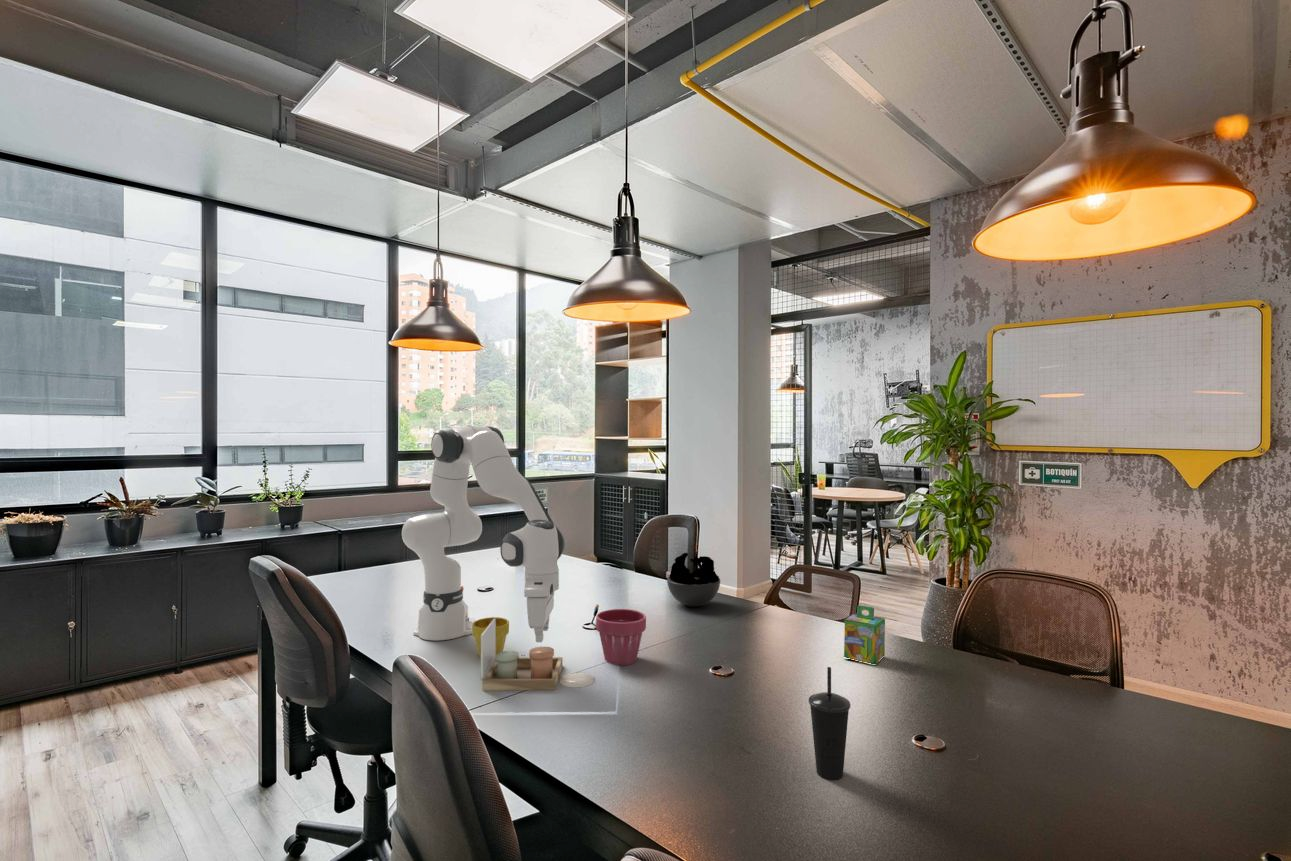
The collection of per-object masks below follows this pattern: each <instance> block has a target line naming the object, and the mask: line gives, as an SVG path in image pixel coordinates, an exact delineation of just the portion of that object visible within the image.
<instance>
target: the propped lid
mask: <svg viewBox="0 0 1291 861" xmlns="http://www.w3.org/2000/svg"><path fill="white" fill-rule="evenodd" d="M495 661H496V619H493V620H492V622H491V623H490V624H489V625H488V627H487V628H486V629H485V631H484V632H483V633H482V635H481V657H480V680H481V681H482V682H483V679H485V677H486V676H487V674H488V672H489V671H490V669H491V668H492V666H493V664H494V663H495Z"/></svg>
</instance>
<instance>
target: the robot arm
mask: <svg viewBox="0 0 1291 861" xmlns="http://www.w3.org/2000/svg"><path fill="white" fill-rule="evenodd" d="M430 446H431V453H432V455H433V456H434V461H433V467H432V473H431V482H430V488H429V493H430V496H431V497H430V498H432V500H433V501H434V502H436V503H437V504H439V505H441V506H443V507H444V511H443V512H439V513H438V512H437V513H429V514H428V513H427V514H426V513H425V514H421V515H416V516H413V517H410V518H408V519H406V521H405V522H404V523H403V525H402V529H401V538H402V541H403V543H404V545H405V546H406V547H407V548H408V549H410V550H411V551H413V552H414V553H415V554H416V555H417V556H418V557H419V559H420V561H421V564H422V567H423V571H424V590H423V594H422V595H423V596H422V597H423V598H422V599H423V601H422V602H423V605H422V606H421V607H419V610H418V622H417V628H416V629H415V630H413V633H412V634H413V635H414V636H417V637H419V638H420V639H423V640H424V641H445V640H446V641H448V640H453V639H457V638H461V637H463V636H470V635H473V634H472V624H473V623H474V622H475V621H476V619H475V618H474V617H471V616H470V617H469V606H468V605H467V604H466V602H465V601H464V588H465V587H464V586H463V585H462V566H461V565H460V562H458V561H457V560H456V559H455V558H451V557H449V556H446V553H445V548H447V547H456V546H463V545H466V544H470V543H473V542H476V541H477V540H478V539H479V538H480V536H481V535H482V532H483V523H482V519H481V517H480V516H479V515H478V514H477V513H476V512H474V511H473V509H471V507H470V505H469V503H468V494H467V493H468V484H469V483H468V482H469V476H470V468H472V470H473V473H474V476H475V478H476V481H477V484H478V485H479V487H480V489H481V490H482V491H483V492H484V493H486V494H487V495H490V496H492V497H495V498H500V499H502V500H506V501H509V502H513V503H514V504H516V505H517V506H519V507H520V508H521V509H522V510H523V512H524V514H525V516H526V517H527V520H528V522H526V524H525V526H523V527H522V528H520V529H517V530H514V531H512V532H507V533H506V534H505V536H503V538H502V540H501V542H500V557H501V559H502V560H503V562H504V563H505V564H506V565H507V566H509V567H514V568H519V567H524V590H523V591H524V592H523V593H524V594H523V596H524V598H526V609H527V611H526V612H527V621H528V626H529V628H530V629H534V630H533V632H534V635H535V642H536V643H542V642H543V641H544V632H547V631H548V630H549V627H550V626H549V624H550V615H551V613H552V611H553V610H554V607H555V592H556V591H557V590H559V589H560V581H559V580H560V575H559V574H560V573H559V570H560V569H559V565H558V560H559V559H560V558H561V556H562V554H563V552H564V550H565V546H566V545H565V544H566V542H565V538H564V536H563V535H564V534H563V533H562V532H561V530H560V529H559V528H558V527H557V525H556V524H555V523H554V521H553V520H552V519H551V516H550V515H549V513H548V511H547V509H546V507H545V505H544V503H543V502H542V499H541V498H540V496H539V494H538V493H537V491H536V488H535V487H534V485H533V484H532V483H531V482H530V481H529V480H528V479H527V478H525V477H524V476H523V475H522V474H521V473H520V472H519V470H518V469H517V468H516V466H515V465H514V463H513V460H512V457H511V455H510V452H509V450H508V447H507V446H506V444H505V438H504V435H503V433H502V432H501V430H500V429H499V428H497V427H493V426H489V425H486V426H480V425H478V426H477V425H467V426H456V427H450V426H449V427H443V428H440V429H439V428H438V429H437V430H436V431H435V432H434V434H433V436H432V438H431V444H430ZM470 465H472V467H471V466H470Z"/></svg>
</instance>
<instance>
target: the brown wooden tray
mask: <svg viewBox="0 0 1291 861" xmlns="http://www.w3.org/2000/svg"><path fill="white" fill-rule="evenodd" d="M562 668H563V656H561V657H560V656H556V657H555V656H553V657H552V678H551V679H531V658H530V657H529V656H527V657H519V658H518V660H517V678H516V679H497V661H495V663H494V664H493V666H492V668H491V669H490V671H489V672H488V674H487V676H486V677H485V679H483V681H482V691H483V692H484V691H488V692H489V691H492V692H493V691H555V690H556V688H557V684H558V682H559V680H560V675H561V671H562Z"/></svg>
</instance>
